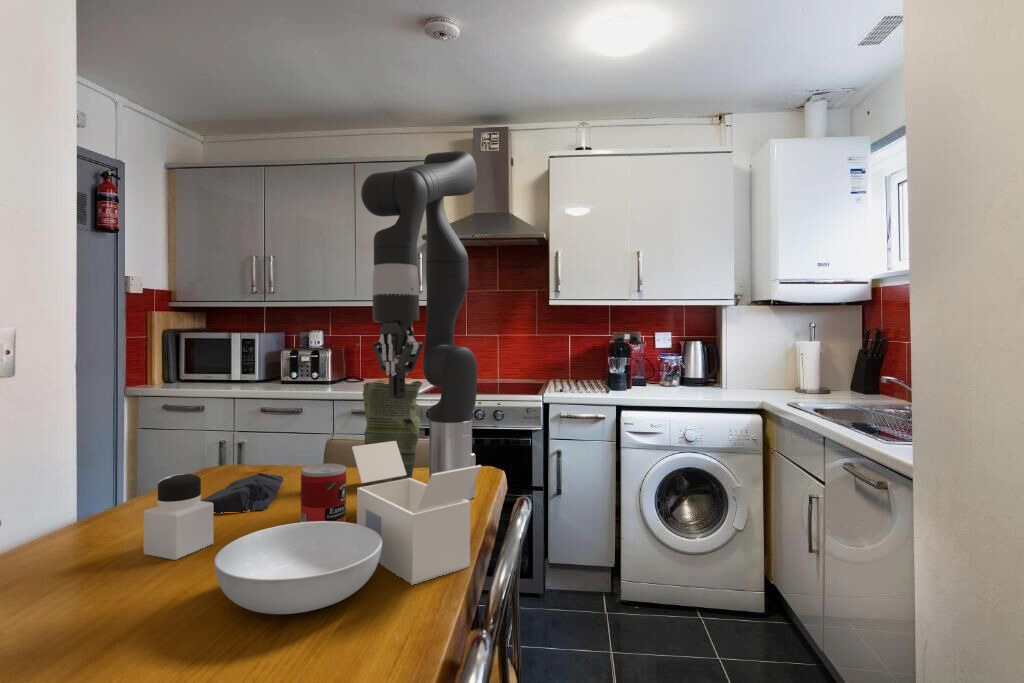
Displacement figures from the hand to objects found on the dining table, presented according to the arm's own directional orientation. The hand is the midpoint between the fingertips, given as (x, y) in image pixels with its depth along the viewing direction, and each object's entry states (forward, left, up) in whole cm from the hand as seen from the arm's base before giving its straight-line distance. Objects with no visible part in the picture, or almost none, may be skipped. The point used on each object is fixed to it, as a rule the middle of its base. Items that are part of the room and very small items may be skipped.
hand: (397, 398), depth 89 cm
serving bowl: (+18, +7, -25) cm, 31 cm away
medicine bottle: (+27, -22, -25) cm, 43 cm away
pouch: (-19, -36, -25) cm, 48 cm away
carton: (0, +5, -25) cm, 25 cm away
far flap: (0, -6, -11) cm, 13 cm away
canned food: (+5, -17, -25) cm, 31 cm away
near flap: (0, +15, -11) cm, 19 cm away
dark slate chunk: (+11, -47, -26) cm, 54 cm away
